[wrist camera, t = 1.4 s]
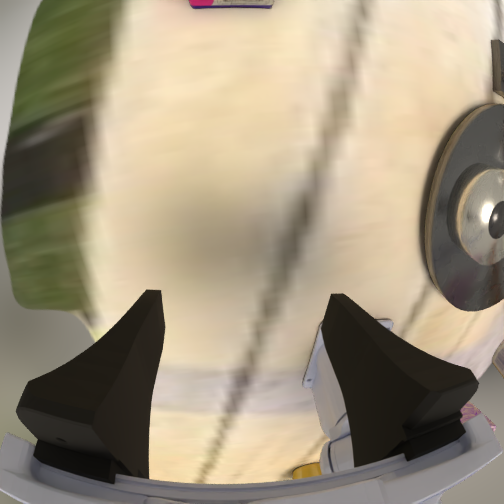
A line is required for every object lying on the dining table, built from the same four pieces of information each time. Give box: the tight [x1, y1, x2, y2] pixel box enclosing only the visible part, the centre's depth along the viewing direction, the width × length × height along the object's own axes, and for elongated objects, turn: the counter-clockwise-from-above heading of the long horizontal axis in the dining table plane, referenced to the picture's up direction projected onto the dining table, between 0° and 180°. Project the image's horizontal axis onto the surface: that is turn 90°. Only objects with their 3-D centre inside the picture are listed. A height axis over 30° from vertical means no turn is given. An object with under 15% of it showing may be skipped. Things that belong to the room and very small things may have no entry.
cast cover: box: [446, 163, 504, 266], centre depth 18 cm, size 8×8×3 cm
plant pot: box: [293, 463, 322, 479], centre depth 38 cm, size 10×10×10 cm
